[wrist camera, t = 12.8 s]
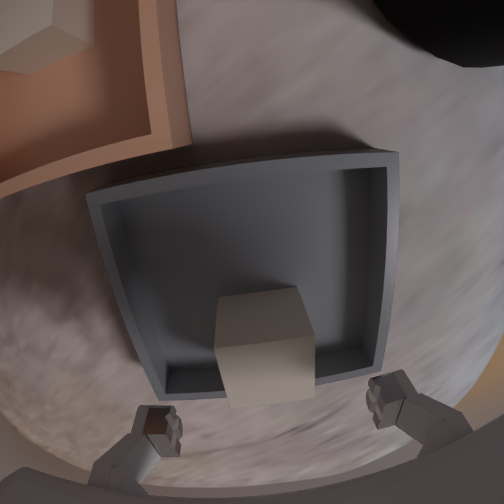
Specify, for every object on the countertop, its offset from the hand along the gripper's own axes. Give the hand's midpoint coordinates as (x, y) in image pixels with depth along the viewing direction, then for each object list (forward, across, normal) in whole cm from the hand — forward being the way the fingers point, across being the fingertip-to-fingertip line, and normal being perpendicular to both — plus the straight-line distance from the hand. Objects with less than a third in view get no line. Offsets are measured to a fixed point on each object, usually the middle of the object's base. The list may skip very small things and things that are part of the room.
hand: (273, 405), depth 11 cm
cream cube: (+5, +8, -18) cm, 20 cm away
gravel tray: (+6, 0, -3) cm, 7 cm away
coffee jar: (+6, -12, -19) cm, 23 cm away
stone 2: (+5, 0, 0) cm, 5 cm away
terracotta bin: (+6, +8, -16) cm, 19 cm away
